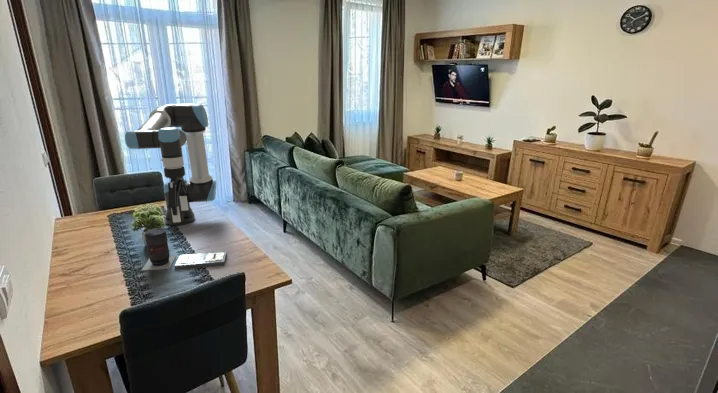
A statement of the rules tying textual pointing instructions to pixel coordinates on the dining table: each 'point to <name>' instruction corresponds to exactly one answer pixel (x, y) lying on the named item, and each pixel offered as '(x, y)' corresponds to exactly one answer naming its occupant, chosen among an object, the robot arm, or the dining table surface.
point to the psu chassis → (201, 260)
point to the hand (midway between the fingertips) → (181, 215)
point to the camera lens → (157, 246)
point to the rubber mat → (150, 267)
